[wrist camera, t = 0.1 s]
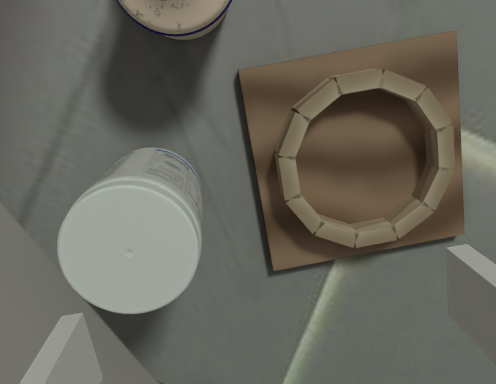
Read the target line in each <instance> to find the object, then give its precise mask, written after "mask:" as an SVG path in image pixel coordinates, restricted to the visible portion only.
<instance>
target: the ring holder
mask: <svg viewBox="0 0 496 384" xmlns="http://www.w3.org/2000/svg"><path fill="white" fill-rule="evenodd" d="M238 74H239V80H240V85H241V91H242V97H243V103H244V108H245V114H246V120H247V125H248V131H249V137H250V142H251V148H252V154H253V160H254V165H255V171H256V177H257V182H258V188H259V194H260V199H261V205H262V211H263V217H264V222H265V228H266V234H267V239H268V245H269V251H270V256H271V262H272V267H273V271H277V270H282V269H288V268H293V267H298V266H303V265H308V264H313V263H319V262H324V261H329V260H334V259H339V258H344V257H350V256H355V255H360V254H365V253H370V252H375V251H380V250H386V249H391V248H396V247H401V246H406V245H411V244H417V243H422V242H427V241H432V240H437V239H442V238H448V237H453V236H458V235H463V234H465V231H464V206H463V181H462V155H461V130H460V105H459V79H458V54H457V30H456V31H450V32H444V33H439V34H433V35H428V36H422V37H417V38H411V39H406V40H401V41H395V42H390V43H384V44H379V45H373V46H368V47H362V48H357V49H351V50H346V51H340V52H335V53H330V54H324V55H319V56H313V57H308V58H302V59H297V60H291V61H286V62H280V63H275V64H269V65H264V66H259V67H253V68H248V69H242V70H238Z"/></svg>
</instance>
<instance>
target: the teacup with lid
mask: <svg viewBox="0 0 496 384" xmlns="http://www.w3.org/2000/svg"><path fill="white" fill-rule="evenodd" d="M117 2H118V4H119V5H120V6H121V8H122V9H123V10H124V12H125V13H126V14H127V15H128V16H129V17H130V18H131V19H132V20H133V21H135V22H136V23H137V24H139V25H140V26H142V27H144V28H145V29H147V30H149V31H152V32H154V33H157V34H161V35H163V36H166V37H168V38H172V39H177V40H190V39H195V38H199V37H201V36H203V35H205V34H207V33H209V32H210V31H212V30H213V29H214V28H215V27H216V26H217V25H218V24H219V23H220V22H221V20H222V19H223V17H224V16H225V14H226V12H227V10H228V7H229V5H230V3H231V2H232V0H117Z"/></svg>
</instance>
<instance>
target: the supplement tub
mask: <svg viewBox="0 0 496 384" xmlns="http://www.w3.org/2000/svg"><path fill="white" fill-rule="evenodd" d="M202 220H203V190H202V185H201V182H200V179H199V177H198V175H197V173H196V171H195V170H194V168H193V167H192V166H191V165H190V164H189V163H188V162H187V161H186V160H185V159H184V158H182V157H181V156H179V155H178V154H176V153H174V152H172V151H169V150H166V149H161V148H153V147H150V148H141V149H137V150H134V151H132V152H130V153H128V154H126V155H124V156H122V157H121V158H120V159H118V160H117V161H116V162H115V163H114V164H113V165H112V166H111V167H110V168H109V169H108V170H107V171H106V172H105V173H104V174H103V175H102V176H101V177H100V178H99V179H98V180H97V181H95V182H94V183H93V184H92V185H91V186H90V187H89V188H88V189H87V190H86V191H85V192H84V193H83V194H82V195H81V196H80V197H79V198H78V199H77V201H76V202H75V203H74V204H73V206H72V207H71V209H70V210H69V212H68V214H67V216H66V217H65V219H64V221H63V223H62V225H61V228H60V231H59V235H58V241H57V253H58V260H59V264H60V267H61V270H62V272H63V274H64V276H65V278H66V280H67V281H68V282H69V284H70V285H71V287H72V288H73V289H74V290H75V291H76V292H77V293H78V294H79V295H80V296H81V297H82V298H83V299H85V300H86V301H88V302H89V303H91V304H93V305H95V306H97V307H99V308H101V309H104V310H107V311H110V312H115V313H121V314H140V313H146V312H150V311H153V310H156V309H159V308H161V307H163V306H165V305H167V304H169V303H170V302H172V301H173V300H175V299H176V298H177V297H178V296H179V295H180V294H181V293H182V292H183V291H184V290H185V289H186V288H187V286H188V285H189V283H190V282H191V280H192V278H193V276H194V274H195V271H196V268H197V265H198V262H199V258H200V254H201V244H202Z"/></svg>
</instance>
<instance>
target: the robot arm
mask: <svg viewBox="0 0 496 384" xmlns="http://www.w3.org/2000/svg"><path fill="white" fill-rule="evenodd" d="M446 257H447V286H448V314H449V316H450V317H451V318H452V319H453V320H454V321H455V322H456V323H457V324H458V325H459V326H460V327H461V328H462V330H463V331H464V332H465V333H466V334H467V335H468V336H469V337H470V338H471V339H472V340H473V341H474V342H475V344H476V345H477V346H478V347H479V348H480V349H481V350H482V351H483V352H484V353H485V354H486V355H487V356H488V358H489V359H490V360H491V361H492V362H493V363H494V364H495V365H496V264H494V263H493V262H491V261H490V260H489V259H487V258H486V257H484V256H483V255H482V254H480V253H479V252H477V251H476V250H475V249H473V248H472V247H470V246H469V245H468V244H465V245H459V246H454V247H448V248H446ZM102 378H103V376H102V373H101V370H100V366H99V363H98V360H97V356H96V353H95V350H94V347H93V343H92V340H91V337H90V334H89V330H88V327H87V324H86V321H85V318H84V314H83V313H78V314H72V315H66V316H61V318H60V320H59V321H58V323H57V324H56V326H55V328H54V329H53V331H52V332H51V334H50V336H49V337H48V339H47V340H46V342H45V344H44V345H43V347H42V349H41V350H40V352H39V353H38V355H37V357H36V358H35V360H34V361H33V363H32V365H31V366H30V368H29V369H28V371H27V373H26V374H25V376H24V378H23V379H22V381H21V382H20V384H100V383H101V381H102Z"/></svg>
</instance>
